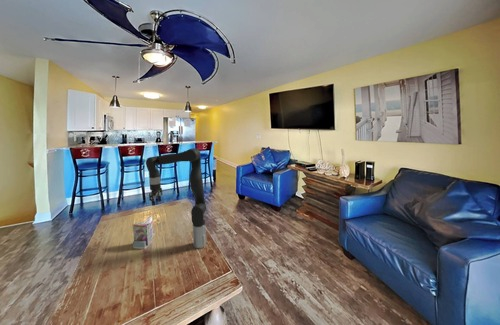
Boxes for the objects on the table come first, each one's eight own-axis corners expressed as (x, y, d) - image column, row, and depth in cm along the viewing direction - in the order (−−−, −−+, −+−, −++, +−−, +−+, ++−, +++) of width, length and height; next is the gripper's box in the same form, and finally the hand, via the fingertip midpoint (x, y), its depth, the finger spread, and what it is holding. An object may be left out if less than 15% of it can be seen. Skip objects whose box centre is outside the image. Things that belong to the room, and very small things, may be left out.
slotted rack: (141, 241, 150) (140, 235, 150) (152, 242, 150) (151, 235, 149) (133, 248, 141) (132, 241, 140) (144, 248, 141) (144, 242, 140)
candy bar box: (133, 244, 143) (132, 224, 141) (138, 241, 148) (136, 221, 146) (147, 246, 142) (146, 225, 140) (151, 242, 147) (150, 222, 145)
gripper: (154, 185, 136) (156, 206, 139) (164, 180, 150) (166, 200, 153) (144, 185, 137) (146, 206, 139) (155, 180, 151) (157, 200, 153)
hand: (156, 203), depth 146 cm, fingers open, 8 cm apart
